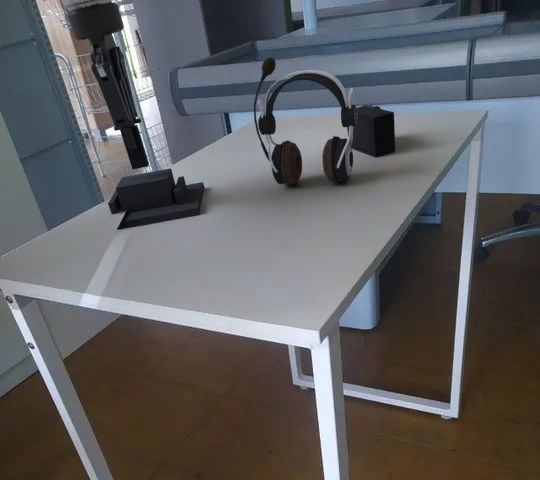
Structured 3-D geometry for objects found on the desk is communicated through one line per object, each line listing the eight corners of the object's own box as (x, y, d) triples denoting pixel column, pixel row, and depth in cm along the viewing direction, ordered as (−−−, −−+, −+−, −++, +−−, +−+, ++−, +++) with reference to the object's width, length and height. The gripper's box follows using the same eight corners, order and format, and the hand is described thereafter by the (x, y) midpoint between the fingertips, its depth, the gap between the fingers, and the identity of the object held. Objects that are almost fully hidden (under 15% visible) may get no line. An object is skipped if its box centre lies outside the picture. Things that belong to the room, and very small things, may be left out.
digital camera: (401, 150, 101) (400, 109, 97) (376, 157, 100) (373, 117, 96) (372, 140, 109) (370, 103, 105) (348, 147, 108) (345, 110, 104)
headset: (258, 194, 94) (235, 66, 83) (272, 179, 100) (252, 56, 89) (356, 189, 88) (345, 49, 77) (365, 173, 94) (356, 41, 83)
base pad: (95, 233, 92) (87, 212, 90) (112, 205, 104) (105, 186, 102) (199, 214, 91) (193, 193, 89) (204, 188, 103) (199, 168, 101)
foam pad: (123, 213, 95) (115, 187, 92) (129, 201, 100) (121, 177, 97) (174, 204, 94) (167, 178, 92) (177, 192, 99) (171, 168, 96)
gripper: (106, 1, 74) (157, 174, 88) (123, -2, 85) (166, 152, 98) (53, 12, 75) (112, 182, 88) (77, 8, 85) (126, 160, 99)
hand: (140, 166), depth 93 cm, fingers closed
